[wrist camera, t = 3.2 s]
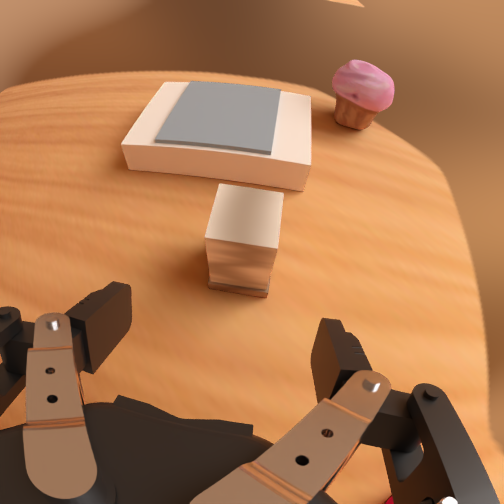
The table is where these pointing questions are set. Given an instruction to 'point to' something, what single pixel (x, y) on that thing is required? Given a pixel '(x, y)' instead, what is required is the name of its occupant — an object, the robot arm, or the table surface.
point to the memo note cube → (243, 239)
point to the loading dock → (224, 134)
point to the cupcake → (361, 93)
